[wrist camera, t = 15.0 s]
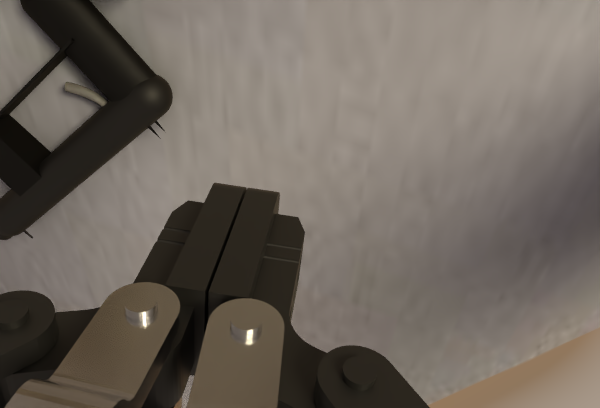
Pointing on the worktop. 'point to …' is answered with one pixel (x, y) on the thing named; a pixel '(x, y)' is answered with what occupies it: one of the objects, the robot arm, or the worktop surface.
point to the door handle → (95, 131)
